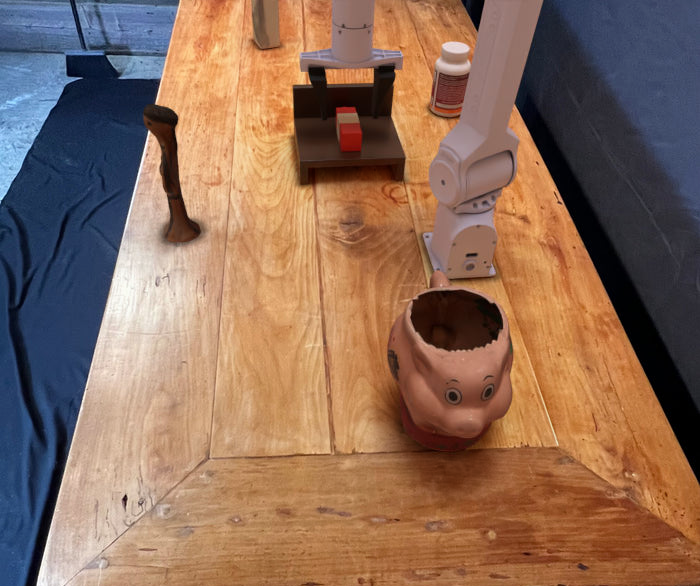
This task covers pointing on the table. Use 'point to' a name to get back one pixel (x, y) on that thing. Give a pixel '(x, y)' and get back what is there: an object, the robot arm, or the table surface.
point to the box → (266, 23)
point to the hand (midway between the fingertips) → (349, 116)
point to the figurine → (170, 172)
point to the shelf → (321, 136)
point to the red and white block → (348, 129)
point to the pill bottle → (450, 79)
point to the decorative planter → (451, 364)
